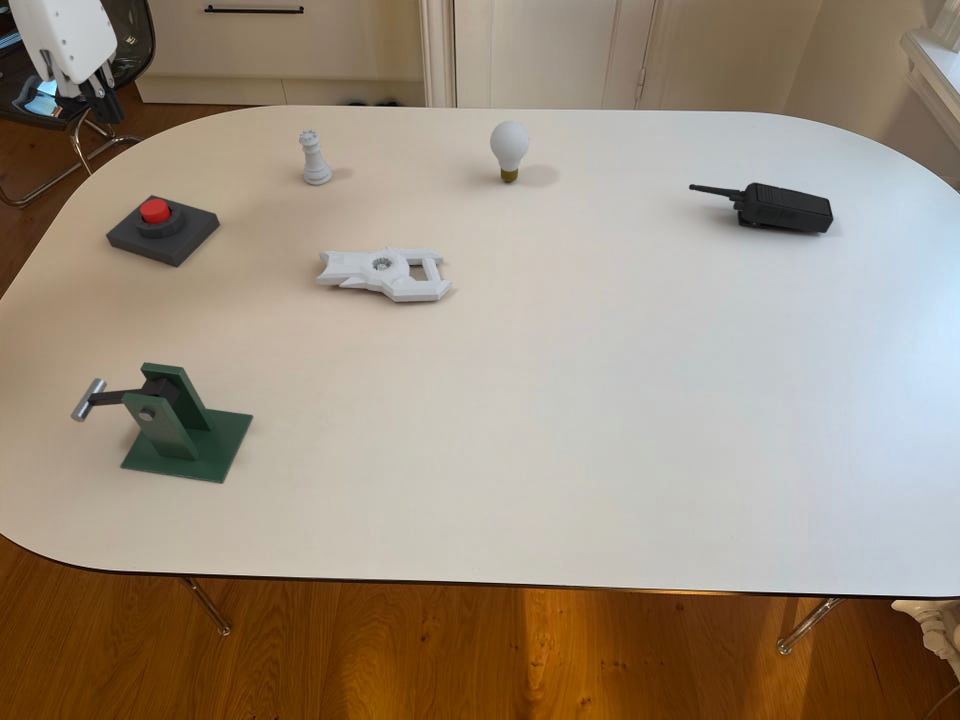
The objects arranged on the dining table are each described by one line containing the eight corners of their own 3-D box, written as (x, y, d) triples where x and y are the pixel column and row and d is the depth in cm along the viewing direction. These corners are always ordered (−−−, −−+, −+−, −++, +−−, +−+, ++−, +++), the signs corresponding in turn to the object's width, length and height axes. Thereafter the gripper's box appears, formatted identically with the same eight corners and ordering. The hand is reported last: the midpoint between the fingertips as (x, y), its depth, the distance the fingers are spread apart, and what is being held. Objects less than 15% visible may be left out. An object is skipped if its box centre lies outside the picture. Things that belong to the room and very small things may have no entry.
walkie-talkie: (832, 236, 98) (689, 212, 99) (814, 239, 104) (680, 216, 105) (842, 191, 97) (698, 168, 98) (824, 197, 103) (688, 175, 104)
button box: (111, 246, 103) (99, 225, 100) (156, 206, 109) (146, 184, 106) (177, 267, 100) (167, 246, 97) (220, 225, 105) (212, 203, 102)
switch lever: (80, 425, 76) (63, 412, 75) (103, 389, 79) (88, 375, 78) (165, 419, 72) (150, 405, 70) (187, 381, 75) (172, 366, 73)
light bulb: (510, 164, 114) (511, 108, 106) (535, 181, 111) (538, 125, 103) (482, 179, 111) (481, 122, 104) (507, 197, 108) (508, 140, 101)
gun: (312, 291, 91) (317, 241, 97) (316, 310, 93) (321, 260, 100) (453, 287, 92) (449, 238, 99) (453, 306, 95) (449, 256, 101)
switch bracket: (124, 472, 79) (75, 411, 70) (160, 407, 84) (119, 343, 75) (225, 487, 77) (188, 427, 68) (255, 420, 83) (225, 356, 74)
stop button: (139, 221, 101) (134, 211, 100) (156, 206, 103) (151, 196, 102) (159, 227, 100) (154, 217, 99) (175, 212, 102) (171, 202, 101)
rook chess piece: (299, 183, 112) (287, 139, 105) (312, 167, 114) (301, 123, 108) (324, 188, 111) (314, 144, 104) (337, 172, 113) (328, 128, 107)
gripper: (46, -63, 80) (114, 87, 95) (-36, -5, 71) (53, 152, 85) (106, -60, 79) (166, 91, 94) (31, -1, 70) (109, 157, 84)
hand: (112, 120), depth 89 cm, fingers closed
